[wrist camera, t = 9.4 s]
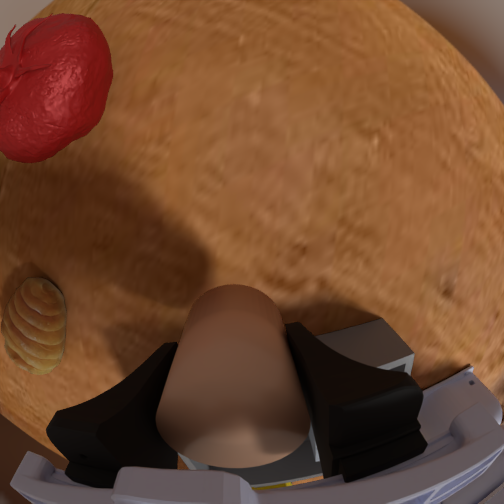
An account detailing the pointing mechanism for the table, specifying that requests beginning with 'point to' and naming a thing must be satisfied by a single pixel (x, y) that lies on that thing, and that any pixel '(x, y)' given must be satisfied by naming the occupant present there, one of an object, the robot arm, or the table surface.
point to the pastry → (35, 326)
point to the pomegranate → (51, 85)
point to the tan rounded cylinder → (233, 384)
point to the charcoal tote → (302, 459)
